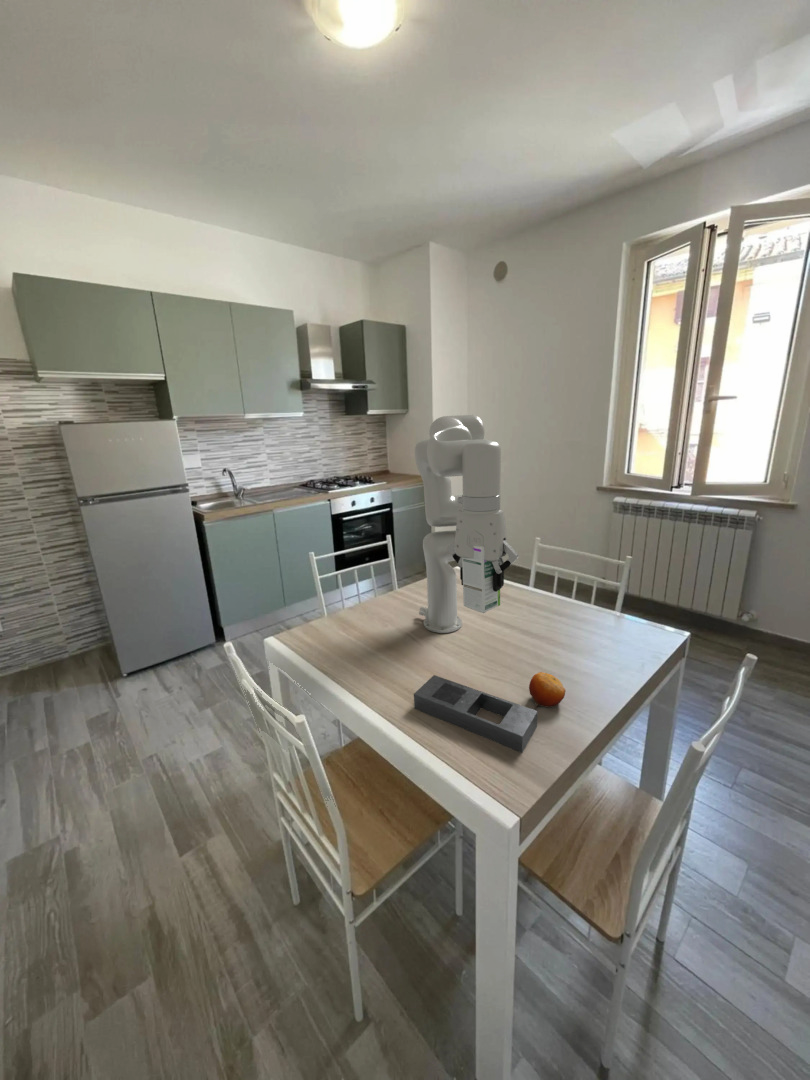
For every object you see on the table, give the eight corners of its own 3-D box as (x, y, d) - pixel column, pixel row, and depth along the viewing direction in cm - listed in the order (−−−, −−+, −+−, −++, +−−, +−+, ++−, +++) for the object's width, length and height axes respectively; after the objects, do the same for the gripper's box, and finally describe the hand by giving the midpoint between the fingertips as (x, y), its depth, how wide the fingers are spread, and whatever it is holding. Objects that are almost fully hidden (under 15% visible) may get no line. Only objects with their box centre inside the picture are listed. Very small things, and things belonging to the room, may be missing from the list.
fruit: (516, 688, 103) (533, 662, 101) (542, 700, 104) (560, 674, 103) (528, 709, 95) (547, 681, 94) (556, 722, 97) (576, 694, 95)
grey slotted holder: (414, 708, 100) (413, 693, 98) (434, 688, 107) (434, 674, 105) (522, 753, 85) (522, 736, 84) (537, 726, 92) (537, 710, 91)
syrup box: (483, 614, 88) (483, 546, 84) (462, 606, 92) (461, 541, 88) (500, 606, 91) (501, 541, 88) (479, 598, 96) (478, 536, 92)
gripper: (435, 504, 88) (437, 585, 93) (515, 509, 78) (514, 600, 83) (452, 498, 94) (454, 575, 98) (529, 503, 84) (527, 587, 89)
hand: (481, 585), depth 90 cm, fingers closed on syrup box, 6 cm apart
